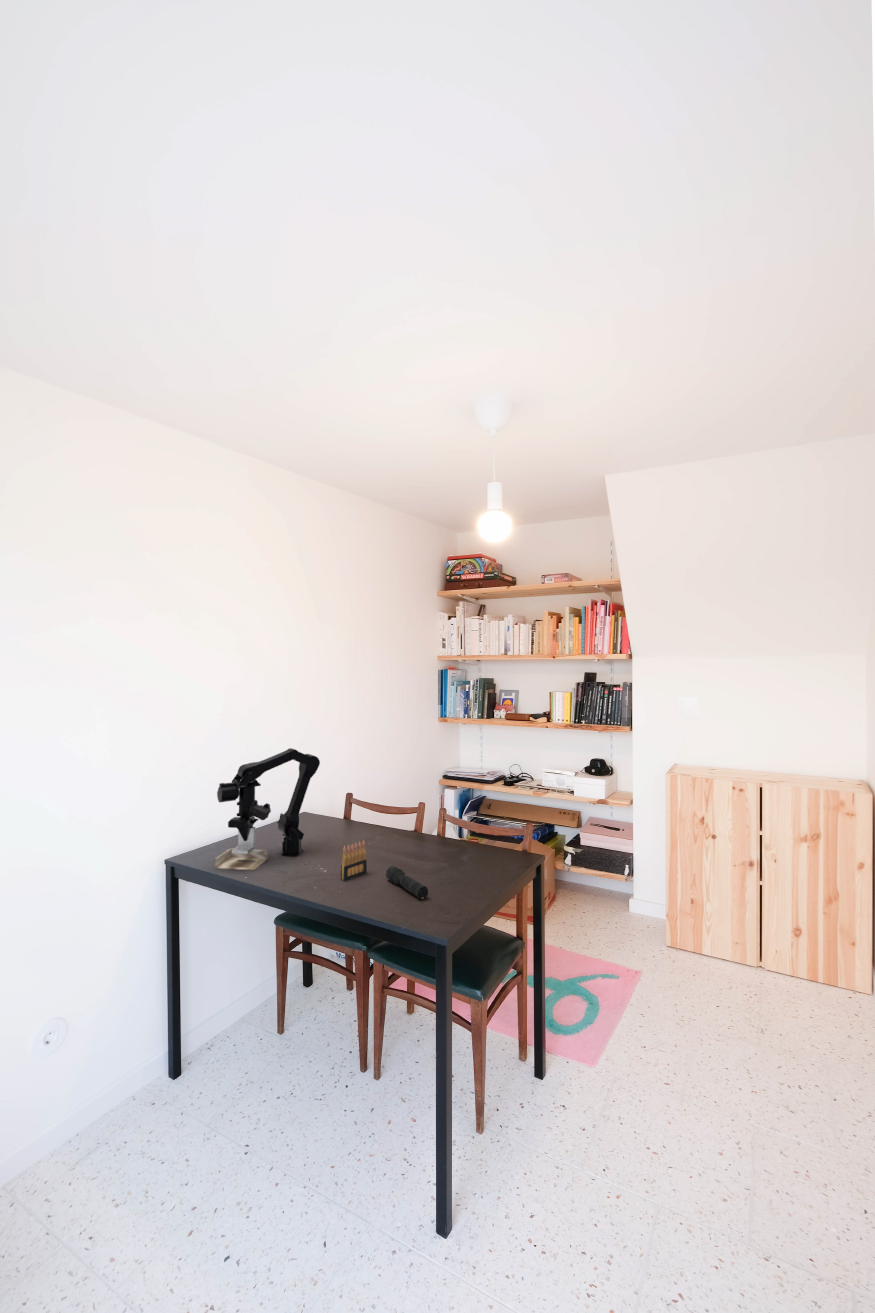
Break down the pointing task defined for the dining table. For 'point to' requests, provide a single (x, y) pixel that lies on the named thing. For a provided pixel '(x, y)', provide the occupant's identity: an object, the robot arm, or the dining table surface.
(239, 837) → the bracket
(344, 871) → the ammunition clip
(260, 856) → the tray
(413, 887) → the flashlight
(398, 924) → the dining table surface
